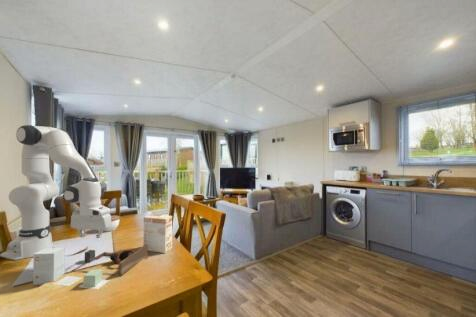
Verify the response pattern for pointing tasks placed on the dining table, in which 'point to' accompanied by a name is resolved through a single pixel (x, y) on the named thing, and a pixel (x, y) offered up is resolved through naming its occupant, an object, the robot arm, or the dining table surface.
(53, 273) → the small box
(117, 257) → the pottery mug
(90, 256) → the sled strip
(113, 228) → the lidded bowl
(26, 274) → the dining table surface
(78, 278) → the broken strip
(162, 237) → the coffeecake box
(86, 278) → the sage cube
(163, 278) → the dining table surface
